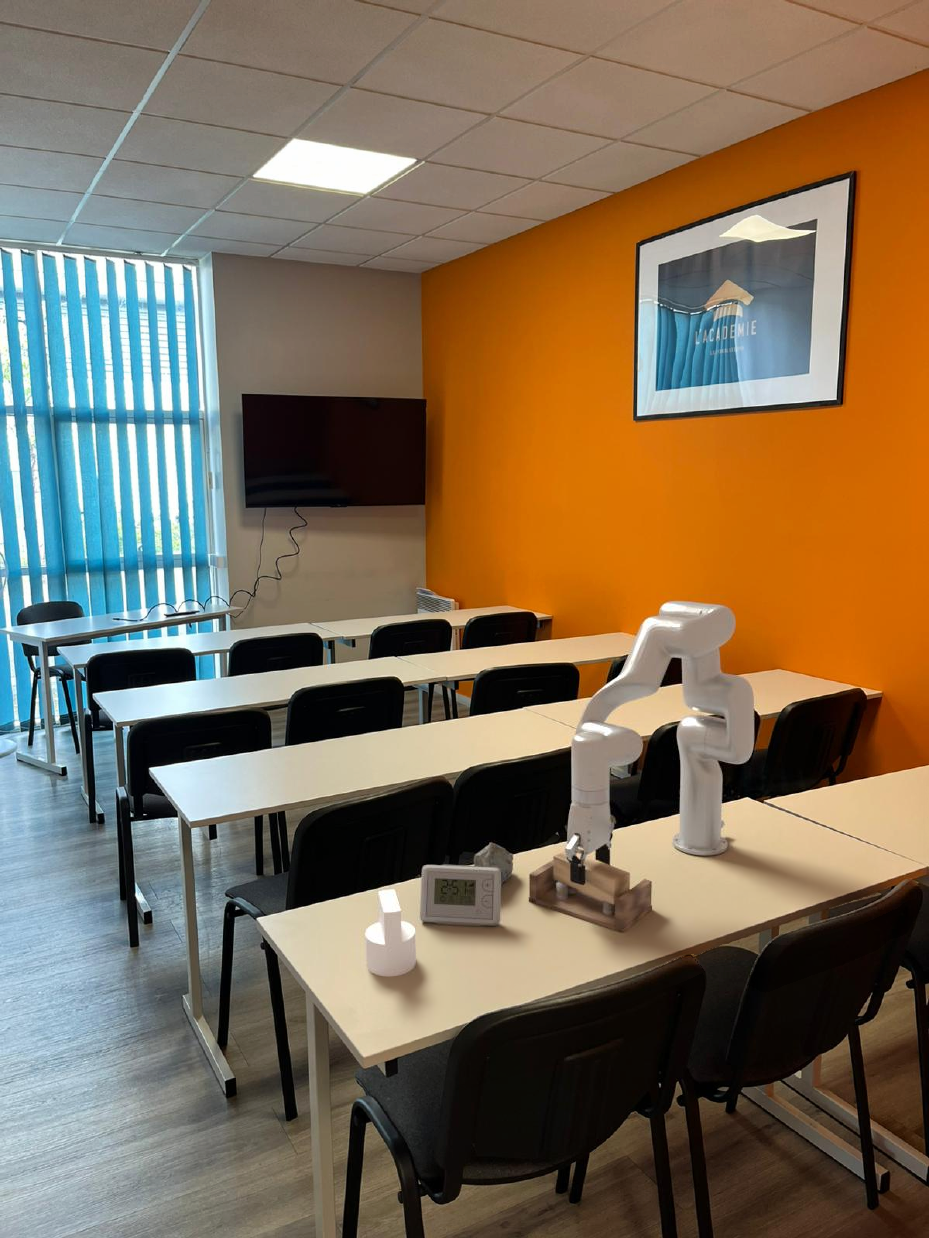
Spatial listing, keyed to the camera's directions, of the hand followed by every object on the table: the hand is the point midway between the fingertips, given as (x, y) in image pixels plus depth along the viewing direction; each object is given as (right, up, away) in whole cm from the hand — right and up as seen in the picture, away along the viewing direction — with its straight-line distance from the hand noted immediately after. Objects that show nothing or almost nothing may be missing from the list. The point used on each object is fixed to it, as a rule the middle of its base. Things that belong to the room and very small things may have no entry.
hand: (590, 874), depth 183 cm
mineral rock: (-19, -6, +11) cm, 23 cm away
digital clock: (-26, -8, -4) cm, 28 cm away
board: (0, -3, 0) cm, 3 cm away
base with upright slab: (-39, -11, -20) cm, 45 cm away
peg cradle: (0, -7, +1) cm, 7 cm away
